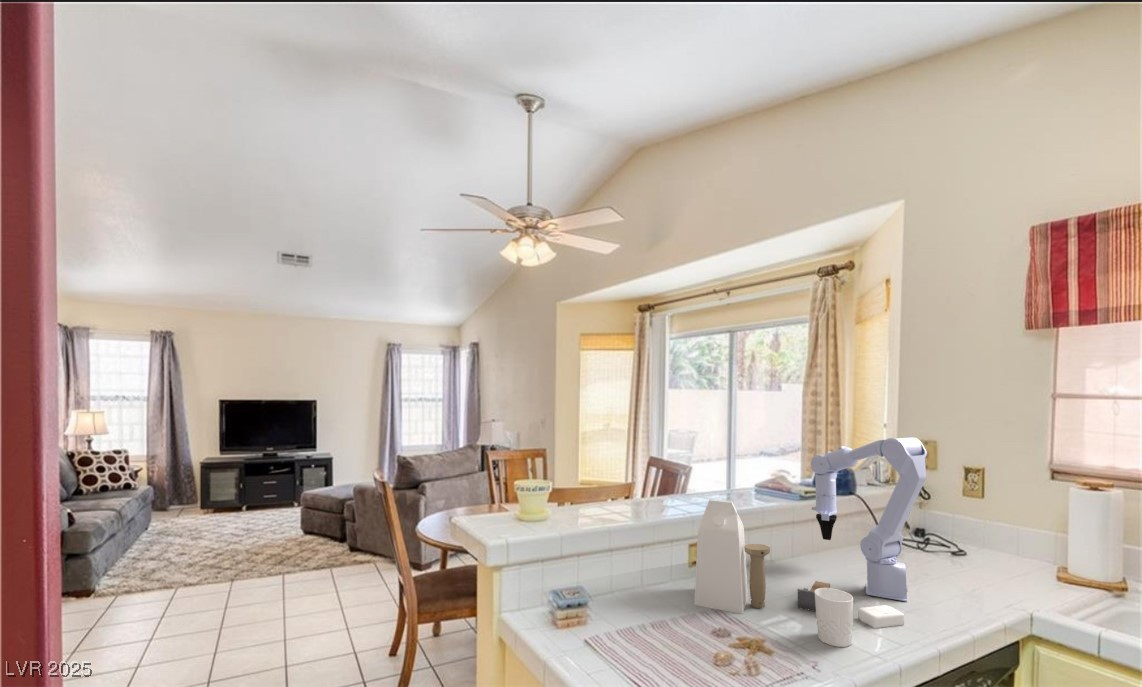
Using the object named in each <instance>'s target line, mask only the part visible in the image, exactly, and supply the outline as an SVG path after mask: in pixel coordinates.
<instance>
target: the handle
mask: <svg viewBox="0 0 1142 687" xmlns="http://www.w3.org/2000/svg"><path fill="white" fill-rule="evenodd" d="M744 550H745V554H748V555H749V557H750V565H749V566H750V567H749V568H750V569H749V594H750V603H751V606H752V607H754V608H755V609H763V608H764V607H765V606H766V605H765V604H766V593H767V590H766V588H767V586H766V573H765V570H766V569H765V557H766V556H767V555H769V554H770V552H771V548H770V546H768V545H766V544H763V543H762V544H760V543H749V544H745V546H744Z"/></svg>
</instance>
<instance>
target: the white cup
mask: <svg viewBox="0 0 1142 687" xmlns="http://www.w3.org/2000/svg"><path fill="white" fill-rule="evenodd" d="M814 592H815V607H816V611H815V618H816V625H817V635H818V639H819V640H820V641H822V642H823V643H824V644H827V645H830V646H832V647H836V648H847V647H849V646H850V645H851V644H852V642H853V641H852V637H853V636H852V634H853V633H852V631H853V622H854V619H853V618H854V597H853V595H852V594H851V593H849V592H846V591H844V590H842V589H838V588H832V587H830V588H818V589H816V590H815V591H814Z"/></svg>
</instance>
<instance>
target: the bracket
mask: <svg viewBox="0 0 1142 687" xmlns="http://www.w3.org/2000/svg"><path fill="white" fill-rule="evenodd" d="M797 608H798V609H800V608H802V610H805V609H807V611H811V610H814V611H813V612H816V607H815V592H814V591H810V590H809V588H807V587H804V588H803V589H802V588H797ZM808 609H809V610H808Z"/></svg>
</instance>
